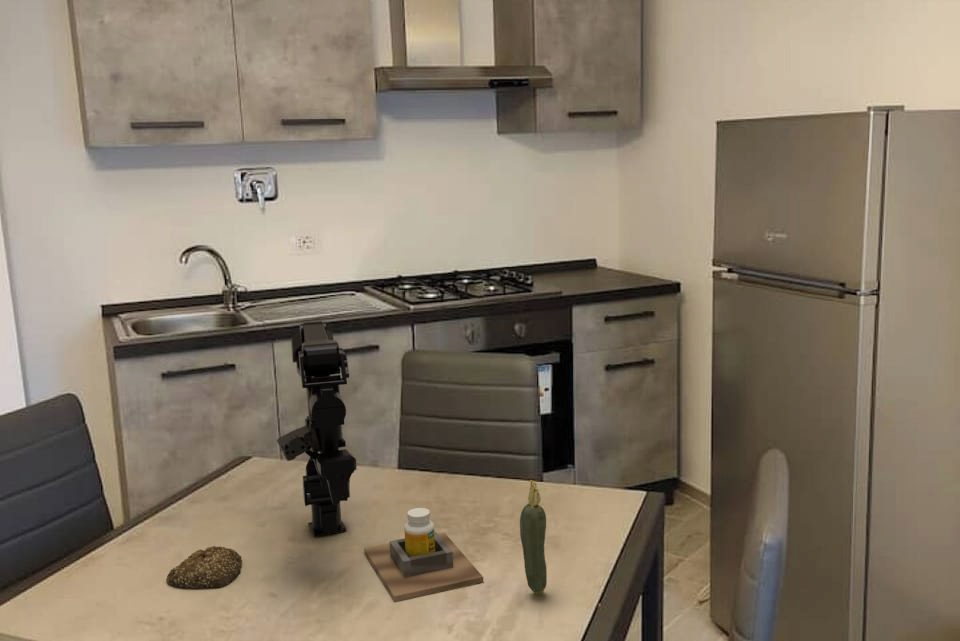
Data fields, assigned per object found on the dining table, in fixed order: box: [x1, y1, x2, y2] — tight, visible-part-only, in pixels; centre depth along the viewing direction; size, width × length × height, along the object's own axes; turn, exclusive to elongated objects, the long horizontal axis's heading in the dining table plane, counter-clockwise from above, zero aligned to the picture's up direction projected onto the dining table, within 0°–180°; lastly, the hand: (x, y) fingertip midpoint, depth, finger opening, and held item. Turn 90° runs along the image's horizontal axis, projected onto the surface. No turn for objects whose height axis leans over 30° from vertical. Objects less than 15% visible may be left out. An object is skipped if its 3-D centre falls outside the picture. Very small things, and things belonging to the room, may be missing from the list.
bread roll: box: [166, 545, 243, 589], centre depth 158 cm, size 13×12×5 cm
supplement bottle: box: [404, 507, 436, 558], centre depth 157 cm, size 5×5×10 cm
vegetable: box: [519, 479, 548, 596], centre depth 144 cm, size 4×4×20 cm
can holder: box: [363, 531, 484, 603], centre depth 157 cm, size 20×16×4 cm
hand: (330, 495), depth 158 cm, fingers open, 9 cm apart
